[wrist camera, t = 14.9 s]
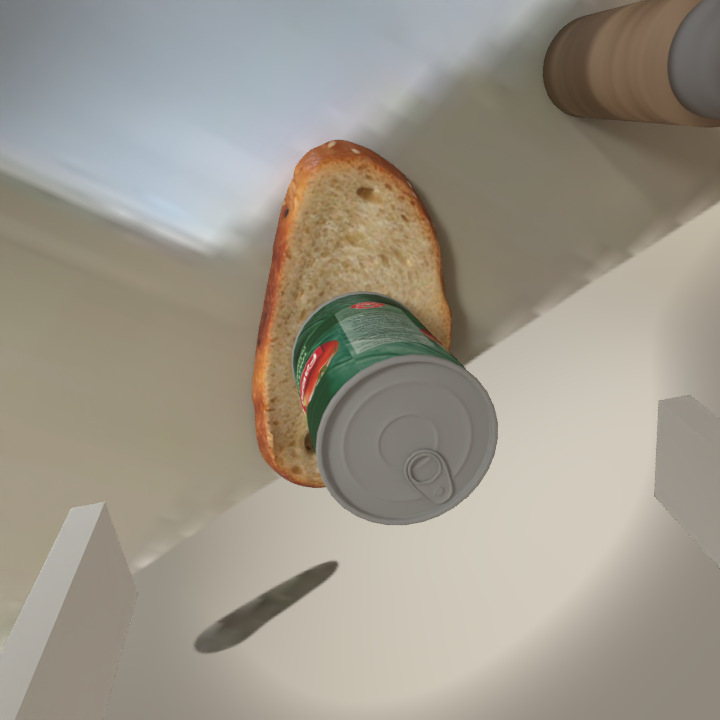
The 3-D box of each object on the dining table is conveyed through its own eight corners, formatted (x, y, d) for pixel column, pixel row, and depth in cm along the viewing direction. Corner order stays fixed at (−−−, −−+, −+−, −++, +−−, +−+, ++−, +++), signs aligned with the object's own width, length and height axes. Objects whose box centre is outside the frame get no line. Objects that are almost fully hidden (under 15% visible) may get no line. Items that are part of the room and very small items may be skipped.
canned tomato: (264, 339, 36) (278, 423, 26) (385, 263, 36) (448, 319, 26) (336, 444, 39) (374, 557, 29) (448, 375, 39) (526, 464, 29)
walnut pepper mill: (544, 123, 36) (696, 142, 23) (541, 22, 34) (703, -24, 21) (633, 109, 36) (835, 118, 23) (634, 8, 34) (856, -48, 21)
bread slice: (348, 107, 36) (354, 109, 32) (536, 336, 42) (558, 357, 38) (121, 322, 39) (104, 344, 36) (326, 505, 45) (329, 539, 42)
